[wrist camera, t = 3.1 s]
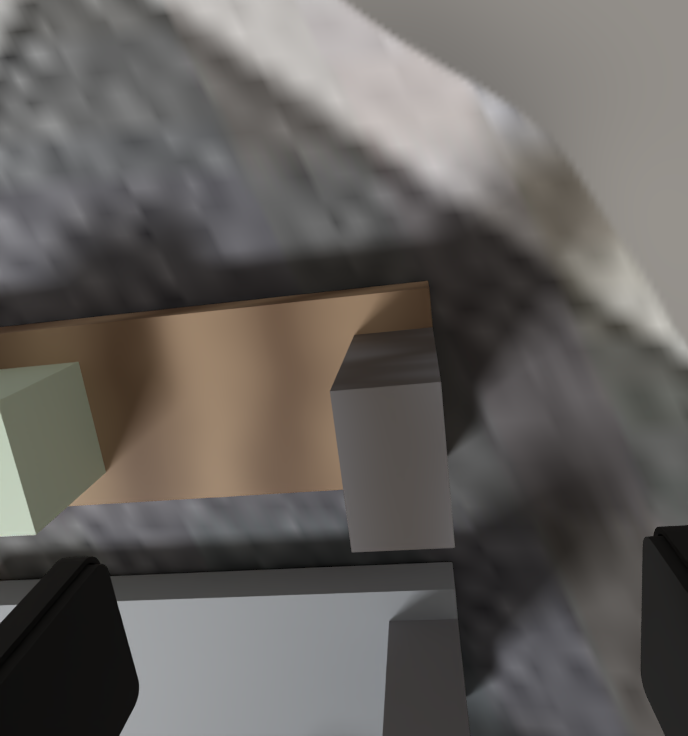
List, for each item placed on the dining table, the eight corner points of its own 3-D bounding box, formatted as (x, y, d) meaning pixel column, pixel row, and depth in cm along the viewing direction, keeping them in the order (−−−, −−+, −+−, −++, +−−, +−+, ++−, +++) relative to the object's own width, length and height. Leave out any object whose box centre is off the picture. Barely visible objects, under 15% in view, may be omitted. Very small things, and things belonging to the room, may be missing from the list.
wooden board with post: (427, 280, 24) (436, 326, 15) (443, 462, 26) (458, 592, 17) (-97, 337, 27) (-331, 401, 19) (-46, 494, 29) (-236, 616, 21)
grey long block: (452, 561, 27) (470, 728, 19) (464, 702, 29) (485, 911, 21) (-17, 581, 31) (-185, 730, 22) (23, 706, 33) (-116, 888, 24)
